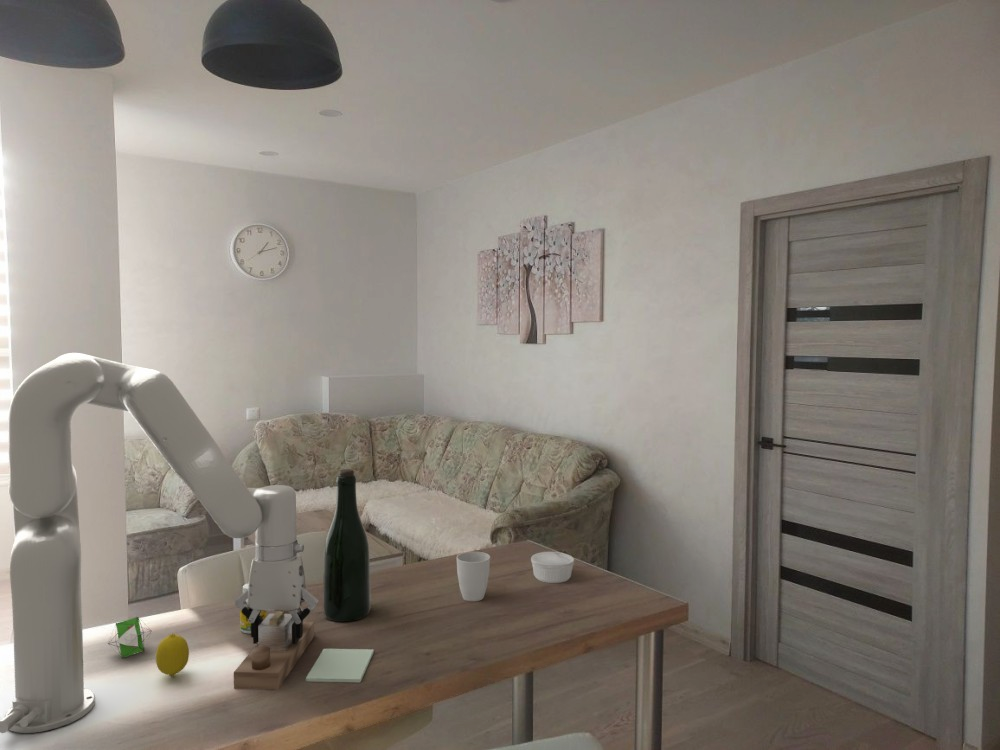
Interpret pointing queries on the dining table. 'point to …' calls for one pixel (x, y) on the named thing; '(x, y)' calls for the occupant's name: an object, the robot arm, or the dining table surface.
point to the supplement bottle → (244, 622)
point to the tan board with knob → (271, 663)
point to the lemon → (172, 654)
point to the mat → (340, 665)
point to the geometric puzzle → (129, 637)
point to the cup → (473, 574)
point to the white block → (276, 631)
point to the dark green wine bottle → (346, 557)
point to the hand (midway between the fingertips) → (277, 640)
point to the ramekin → (552, 566)
